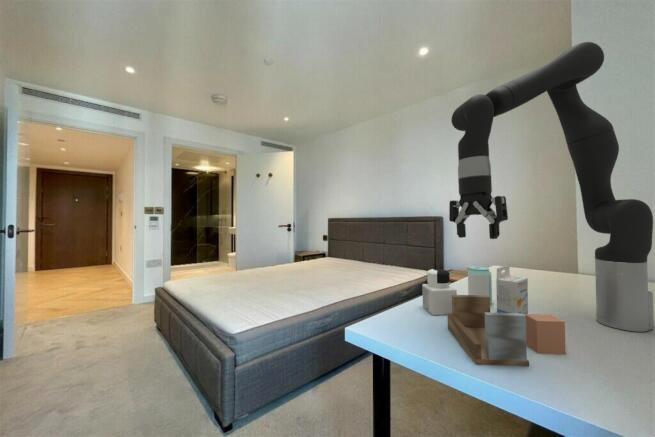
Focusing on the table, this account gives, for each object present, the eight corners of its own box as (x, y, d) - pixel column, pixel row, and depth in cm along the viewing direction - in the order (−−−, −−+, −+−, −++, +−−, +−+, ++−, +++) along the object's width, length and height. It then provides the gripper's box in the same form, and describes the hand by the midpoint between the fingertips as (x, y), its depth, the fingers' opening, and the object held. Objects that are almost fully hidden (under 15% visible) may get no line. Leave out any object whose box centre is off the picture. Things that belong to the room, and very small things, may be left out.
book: (551, 344, 59) (550, 314, 59) (565, 354, 55) (565, 321, 55) (525, 343, 60) (524, 313, 60) (537, 353, 56) (536, 320, 56)
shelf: (487, 329, 68) (486, 291, 68) (529, 366, 51) (527, 315, 51) (447, 328, 69) (446, 291, 69) (475, 363, 53) (474, 314, 53)
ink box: (516, 324, 71) (515, 270, 71) (496, 319, 75) (495, 268, 75) (529, 317, 75) (527, 266, 75) (509, 312, 79) (508, 264, 79)
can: (464, 301, 91) (463, 267, 91) (476, 298, 94) (475, 265, 94) (484, 307, 85) (483, 270, 85) (496, 303, 88) (495, 268, 88)
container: (445, 306, 87) (444, 267, 87) (457, 314, 79) (456, 272, 79) (422, 307, 86) (421, 268, 86) (432, 315, 79) (431, 272, 79)
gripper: (511, 172, 63) (514, 238, 63) (459, 180, 76) (461, 236, 76) (493, 170, 60) (496, 240, 60) (441, 180, 73) (444, 237, 72)
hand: (477, 238), depth 68 cm, fingers open, 8 cm apart
